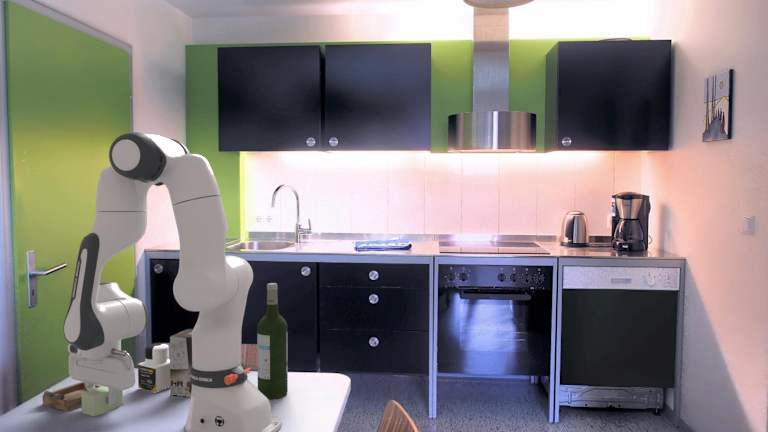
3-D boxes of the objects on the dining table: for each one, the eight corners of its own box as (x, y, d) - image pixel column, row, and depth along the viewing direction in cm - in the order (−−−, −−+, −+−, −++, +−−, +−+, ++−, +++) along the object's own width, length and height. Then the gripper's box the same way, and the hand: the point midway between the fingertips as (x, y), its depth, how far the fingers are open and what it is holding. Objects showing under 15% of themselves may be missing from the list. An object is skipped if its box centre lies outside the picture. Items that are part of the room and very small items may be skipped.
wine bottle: (293, 391, 149) (293, 282, 148) (276, 401, 142) (275, 287, 141) (269, 387, 152) (269, 280, 151) (251, 396, 145) (250, 284, 144)
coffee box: (191, 397, 144) (190, 337, 144) (169, 395, 146) (168, 336, 145) (208, 385, 153) (208, 329, 153) (188, 384, 155) (187, 327, 154)
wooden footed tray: (107, 396, 145) (107, 382, 145) (66, 412, 134) (65, 397, 134) (82, 390, 149) (82, 377, 149) (40, 405, 139) (40, 390, 139)
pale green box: (122, 405, 139) (122, 386, 139) (94, 416, 132) (93, 396, 132) (110, 402, 141) (110, 383, 141) (81, 413, 134) (81, 393, 134)
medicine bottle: (137, 389, 151) (137, 346, 150) (159, 381, 157) (158, 340, 156) (155, 393, 147) (155, 349, 147) (176, 385, 154) (176, 343, 153)
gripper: (141, 348, 134) (142, 403, 135) (86, 338, 143) (87, 390, 144) (119, 355, 129) (120, 413, 129) (63, 344, 138) (64, 398, 138)
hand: (102, 401), depth 137 cm, fingers open, 5 cm apart
